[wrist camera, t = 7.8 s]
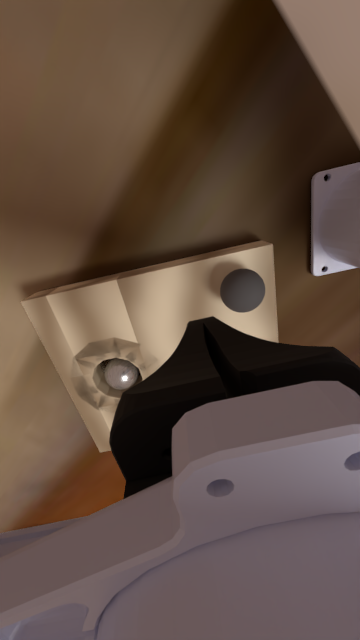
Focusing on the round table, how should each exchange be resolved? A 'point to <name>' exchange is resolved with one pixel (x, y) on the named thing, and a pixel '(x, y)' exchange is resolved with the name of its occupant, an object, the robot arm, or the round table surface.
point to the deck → (141, 321)
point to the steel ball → (120, 373)
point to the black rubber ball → (242, 290)
